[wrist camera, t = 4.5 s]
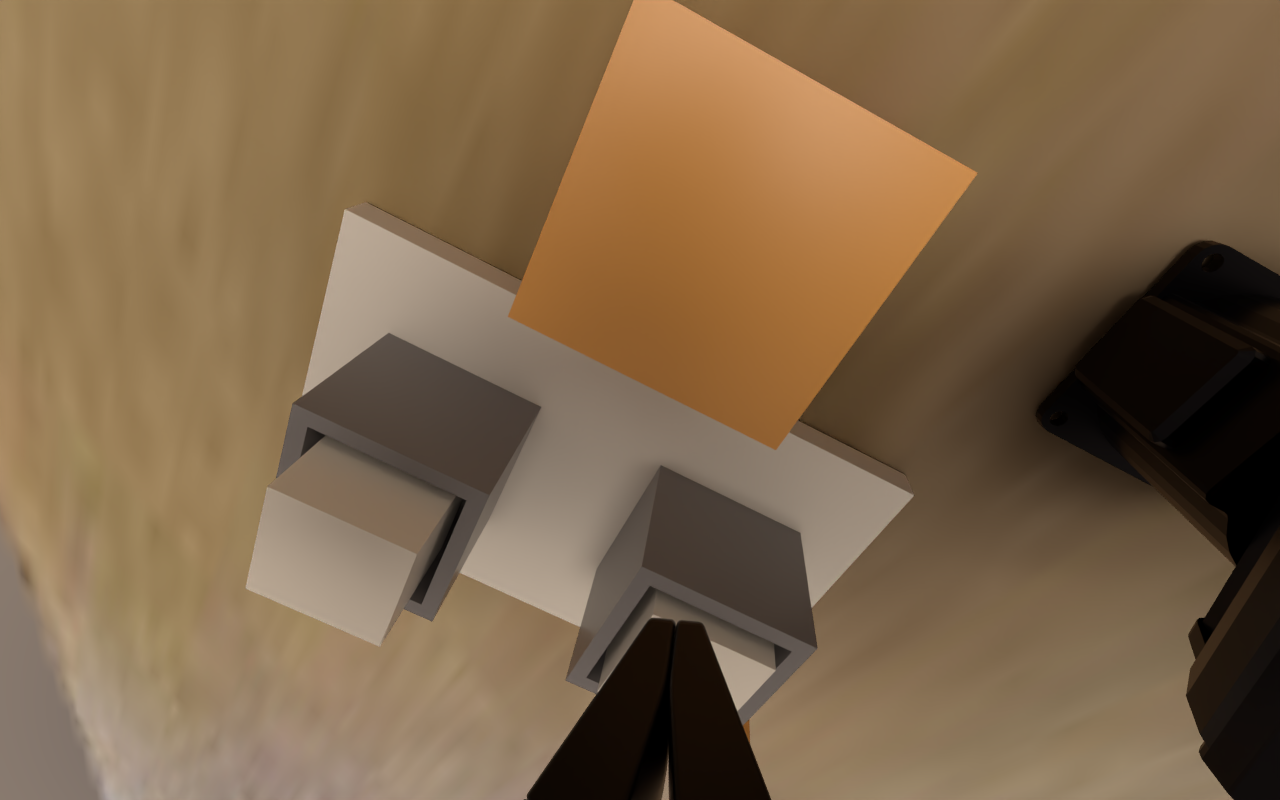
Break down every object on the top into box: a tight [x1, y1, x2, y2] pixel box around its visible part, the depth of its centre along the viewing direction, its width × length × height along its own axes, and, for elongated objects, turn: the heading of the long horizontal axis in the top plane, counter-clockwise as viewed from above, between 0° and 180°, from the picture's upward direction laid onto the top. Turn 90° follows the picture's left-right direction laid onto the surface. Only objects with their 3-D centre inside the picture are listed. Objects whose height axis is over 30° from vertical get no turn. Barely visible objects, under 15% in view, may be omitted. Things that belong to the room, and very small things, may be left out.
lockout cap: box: [508, 0, 977, 450], centre depth 16 cm, size 7×7×6 cm
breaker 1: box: [246, 435, 462, 647], centre depth 17 cm, size 4×4×4 cm
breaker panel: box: [276, 202, 914, 743], centre depth 21 cm, size 20×12×6 cm, turn 64°
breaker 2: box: [597, 586, 776, 711], centre depth 20 cm, size 4×4×4 cm
